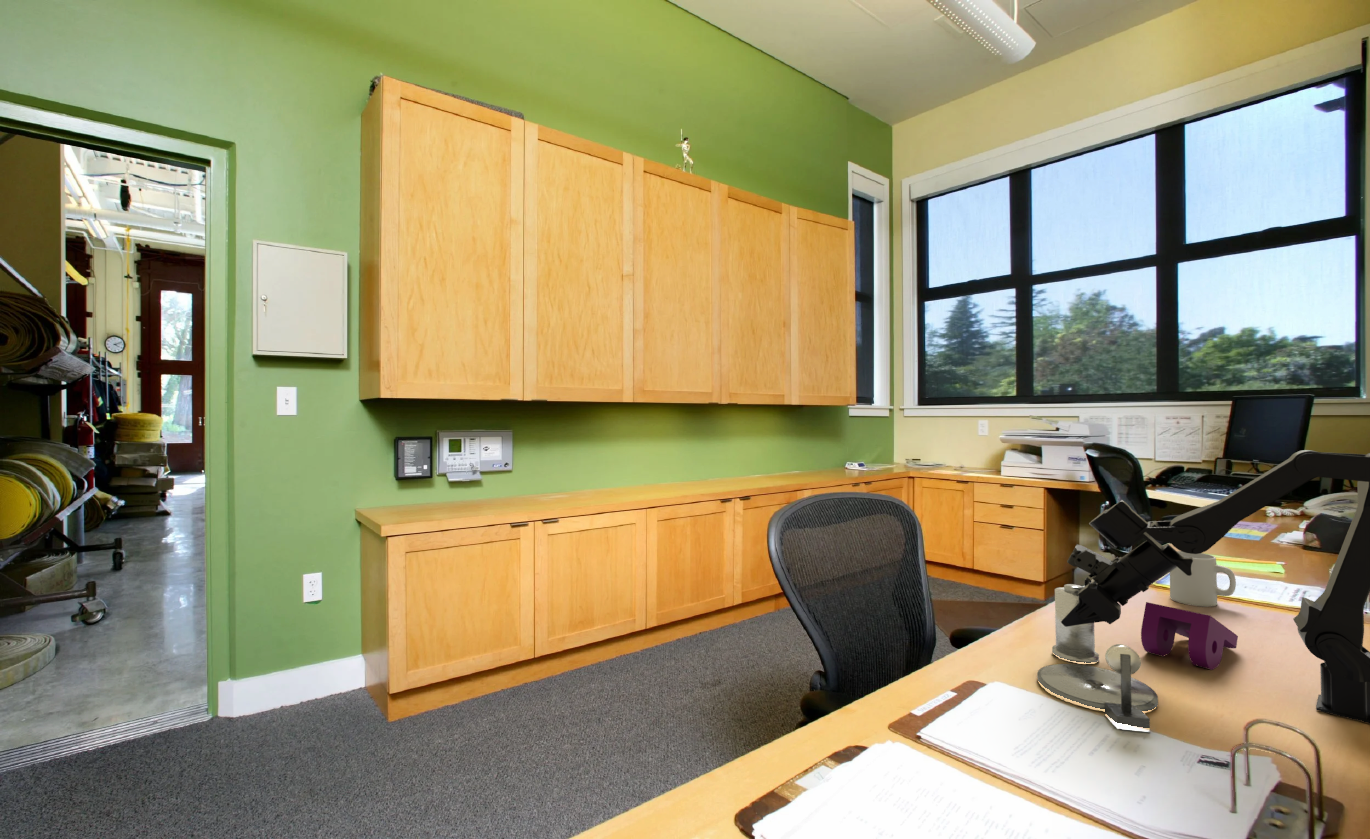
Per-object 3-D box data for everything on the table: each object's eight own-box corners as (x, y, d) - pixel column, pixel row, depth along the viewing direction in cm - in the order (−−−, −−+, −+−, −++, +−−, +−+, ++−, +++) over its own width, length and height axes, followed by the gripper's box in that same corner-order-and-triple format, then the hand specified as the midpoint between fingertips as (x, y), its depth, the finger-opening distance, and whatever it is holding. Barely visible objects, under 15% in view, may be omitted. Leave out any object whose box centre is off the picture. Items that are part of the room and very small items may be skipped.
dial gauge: (1150, 733, 82) (1148, 654, 83) (1117, 729, 83) (1115, 651, 84) (1136, 718, 86) (1134, 643, 86) (1104, 715, 87) (1103, 641, 87)
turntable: (1143, 726, 84) (1143, 717, 84) (1021, 689, 96) (1021, 681, 96) (1169, 691, 95) (1168, 684, 95) (1056, 661, 107) (1056, 655, 107)
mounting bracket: (1176, 669, 117) (1137, 646, 109) (1183, 627, 119) (1145, 601, 111) (1239, 686, 109) (1202, 664, 100) (1245, 641, 111) (1210, 615, 102)
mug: (1163, 599, 141) (1162, 554, 142) (1178, 593, 146) (1177, 549, 146) (1229, 613, 131) (1228, 563, 131) (1243, 606, 136) (1241, 558, 136)
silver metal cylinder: (1091, 668, 104) (1090, 594, 104) (1046, 656, 109) (1045, 586, 109) (1104, 657, 109) (1102, 586, 109) (1059, 646, 114) (1058, 579, 114)
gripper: (1103, 525, 114) (1038, 573, 121) (1093, 541, 99) (1020, 595, 106) (1156, 572, 109) (1085, 620, 116) (1153, 596, 94) (1073, 649, 101)
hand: (1065, 619), depth 110 cm, fingers closed on silver metal cylinder, 6 cm apart
